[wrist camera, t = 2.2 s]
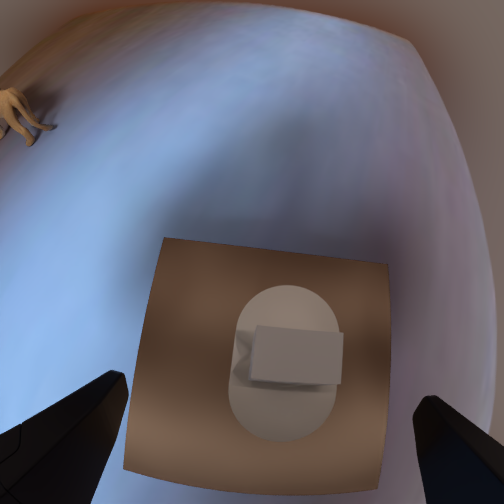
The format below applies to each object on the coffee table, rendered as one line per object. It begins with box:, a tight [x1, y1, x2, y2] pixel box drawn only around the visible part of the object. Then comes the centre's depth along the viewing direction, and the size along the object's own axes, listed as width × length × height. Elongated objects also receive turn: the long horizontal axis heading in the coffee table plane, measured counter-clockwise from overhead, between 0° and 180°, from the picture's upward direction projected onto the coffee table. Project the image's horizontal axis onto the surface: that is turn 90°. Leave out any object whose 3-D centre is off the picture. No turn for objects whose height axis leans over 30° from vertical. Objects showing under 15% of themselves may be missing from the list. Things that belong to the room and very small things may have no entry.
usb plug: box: [228, 285, 344, 442], centre depth 9 cm, size 5×3×7 cm, turn 174°
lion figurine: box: [0, 87, 53, 146], centre depth 21 cm, size 15×5×9 cm, turn 78°
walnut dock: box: [123, 237, 391, 495], centre depth 14 cm, size 12×12×4 cm
